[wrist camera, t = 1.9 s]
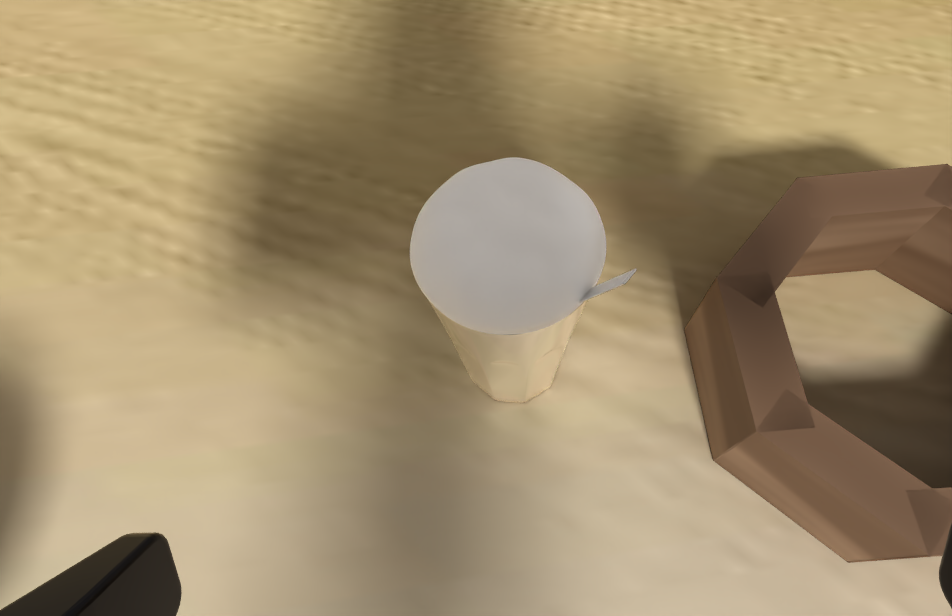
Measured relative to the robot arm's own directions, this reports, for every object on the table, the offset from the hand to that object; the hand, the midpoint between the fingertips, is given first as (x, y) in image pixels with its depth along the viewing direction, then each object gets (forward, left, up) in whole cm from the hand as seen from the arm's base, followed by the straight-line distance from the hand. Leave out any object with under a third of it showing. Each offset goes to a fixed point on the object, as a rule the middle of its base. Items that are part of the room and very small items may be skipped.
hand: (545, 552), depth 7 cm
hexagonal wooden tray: (-4, -12, -13) cm, 18 cm away
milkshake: (+5, -5, -13) cm, 14 cm away
